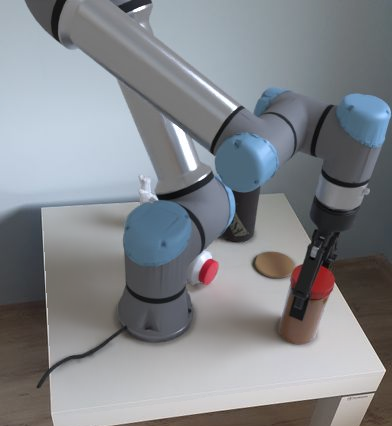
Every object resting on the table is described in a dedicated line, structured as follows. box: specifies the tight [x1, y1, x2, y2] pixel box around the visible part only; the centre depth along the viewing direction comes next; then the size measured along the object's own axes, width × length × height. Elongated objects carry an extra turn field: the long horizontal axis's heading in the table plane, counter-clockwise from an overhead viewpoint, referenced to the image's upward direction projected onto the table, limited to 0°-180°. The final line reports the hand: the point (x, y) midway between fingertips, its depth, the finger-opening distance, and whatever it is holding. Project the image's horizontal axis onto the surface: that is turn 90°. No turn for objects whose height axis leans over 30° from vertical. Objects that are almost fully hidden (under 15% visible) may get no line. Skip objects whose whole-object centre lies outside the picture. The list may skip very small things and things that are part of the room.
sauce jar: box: [278, 284, 331, 345], centre depth 102 cm, size 8×8×14 cm
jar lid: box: [289, 263, 336, 299], centre depth 97 cm, size 8×8×2 cm
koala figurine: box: [137, 174, 158, 206], centre depth 122 cm, size 8×7×12 cm
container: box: [220, 185, 262, 243], centre depth 121 cm, size 9×9×20 cm
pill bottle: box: [186, 249, 220, 286], centre depth 113 cm, size 8×8×11 cm
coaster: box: [254, 251, 296, 280], centre depth 120 cm, size 9×9×1 cm
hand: (306, 300), depth 101 cm, fingers open, 10 cm apart
